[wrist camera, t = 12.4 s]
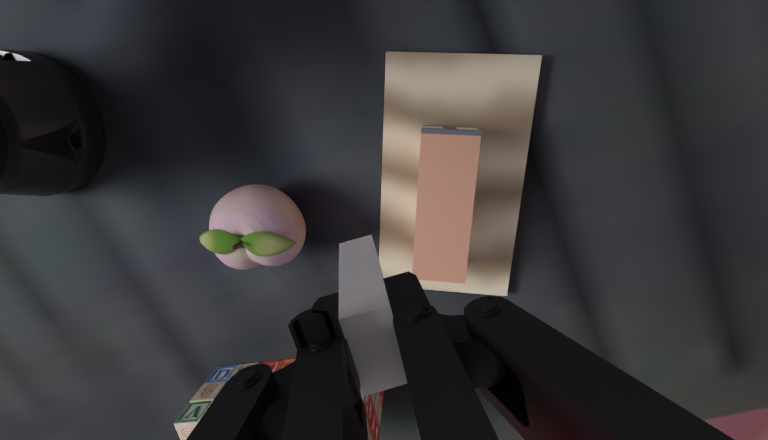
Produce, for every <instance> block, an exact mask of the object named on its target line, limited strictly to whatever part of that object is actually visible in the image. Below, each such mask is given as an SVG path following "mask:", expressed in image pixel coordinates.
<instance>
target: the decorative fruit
mask: <svg viewBox="0 0 768 440" xmlns="http://www.w3.org/2000/svg"><path fill="white" fill-rule="evenodd" d="M305 237H306V225H305V221H304V218H303V216H302V214H301V212H300V210H299V208H298V207H297V206H296V204H295V203H294V202H293V201H292V200H291V199H290V198H289V197H288V196H287V195H286V194H284V193H283V192H281V191H280V190H278V189H276V188H273V187H271V186H267V185H261V184H253V185H246V186H242V187H239V188H236V189H234V190H233V191H231V192H229V193H227V194H226V195H225V196H223V197H222V198H221V199H220V200H219V201H218V202H217V203H216V205H215V206H214V208H213V210H212V212H211V215H210V222H209V230H208V231H206V232H204V233H202V234H201V236H200V237H199V239H200V242H201V243H202V244H203V246H205V247H206V248H207V249H208V250H210V251H212V252H214V253H215V254H216V256H217V257H218V258H219V259H220V260H221V261H222V262H223V263H224V264H226V265H227V266H229V267H232V268H235V269H241V270H245V269H251V268H255V267H256V266H258V265H260V264H262V265H266V266H278V265H283V264H286V263H288V262H290V261H291V260H293V259H294V258H295V257H296V256H297V255H298V254H299V252H300V250H301V249H302V247H303V244H304V241H305Z"/></svg>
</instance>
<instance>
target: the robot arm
mask: <svg viewBox="0 0 768 440" xmlns="http://www.w3.org/2000/svg"><path fill="white" fill-rule="evenodd" d="M103 149H104V135H103V128H102V124H101V120H100V117H99V114H98V111H97V109H96V106H95V104H94V102H93V101H92V99H91V97H90V95H89V94H88V92H87V91H86V89H85V88H84V87H83V85H82V84H81V83H80V82H79V81H78V80H77V79H76V77H75V76H74V75H72V74H71V73H70V72H69V71H68V70H67V69H65V68H64V67H63V66H61V65H60V64H58V63H57V62H55V61H53V60H52V59H49V58H47V57H45V56H42V55H39V54H36V53H31V52H24V51H16V50H6V49H0V194H12V195H29V196H51V195H56V194H60V193H64V192H68V191H72V190H75V189H77V188H80V187H81V186H83V185H84V184H86V183H87V182H88V181H89V180H90V179H91V178H92V177H93V176H94V174H95V173H96V171H97V170H98V168H99V165H100V163H101V160H102V156H103ZM288 327H289V329H290V332H291V335H292V337H293V340H294V343H295V345H296V348H297V355H296V360H295V361H293V362H292V363H290V364H289V365H287V366H285V367H283V368H281V369H279V370H277V371H275V372H272V369H271V367H270V366H269V365H267V364H254V365H250V366H247V367H246V368H243V369H241V370H240V371H239V372H237V373H236V374H234V375H233V376H232V377H231V378H230V379H229V380H228V381H227V382H226V384H225V385H224V386H223V388H222V389H221V391H220V392H219V394H218V395H217V396H216V398H215V399H214V401H213V402H212V404H211V405H210V406H209V408H208V409H207V411H206V412H205V413H204V415H203V416H202V418H201V419H200V421H199V422H198V423H197V425H196V426H195V428H194V429H193V431H192V432H191V433H190V435H189V436H188V438H187V439H186V440H368V431H367V420H366V409H365V406H364V403H363V400H362V397H361V389H362V392H363V395H364V396H367V395H370V394H374V393H377V392H380V391H384V390H387V389H391V388H394V387H397V386H401V385H404V384H407V383H408V387H409V391H410V395H411V400H412V404H413V408H414V412H415V416H416V420H417V424H418V428H419V432H420V436H421V440H499V439H498V437H497V435H496V433H495V431H494V429H493V427H492V425H491V423H490V421H489V419H488V417H487V415H486V412H485V410H484V408H483V406H482V404H481V402H480V400H479V398H478V396H477V394H476V392H475V390H474V388H480V389H481V391H482V393H483V395H484V396H485V397H486V398H487V399H488V400H489V401H490V403H491V404H492V405H493V406H494V407H495V408H496V409H497V410H498V411H499V412H500V413H501V414H502V416H503V417H504V418H505V419H506V420H507V421H508V422H509V423H510V424H511V425H512V426H513V427H514V429H515V430H516V431H517V432H518V433H519V434H520V435H521V436H522V437H523V438H524V439H525V440H734V439H732V438H731V437H729V436H727V435H726V434H724V433H723V432H721V431H719V430H718V429H716V428H714V427H713V426H711V425H709V424H708V423H706V422H705V421H703V420H701V419H700V418H698V417H697V416H695V415H693V414H692V413H690V412H688V411H687V410H685V409H684V408H682V407H680V406H679V405H677V404H676V403H674V402H672V401H671V400H669V399H667V398H666V397H664V396H663V395H661V394H659V393H658V392H656V391H654V390H653V389H651V388H650V387H648V386H646V385H645V384H643V383H642V382H640V381H638V380H637V379H635V378H633V377H632V376H630V375H629V374H627V373H625V372H624V371H622V370H620V369H619V368H617V367H616V366H614V365H612V364H611V363H609V362H607V361H606V360H604V359H603V358H601V357H599V356H598V355H596V354H595V353H593V352H591V351H590V350H588V349H586V348H585V347H583V346H582V345H580V344H578V343H577V342H575V341H573V340H572V339H570V338H569V337H567V336H565V335H564V334H562V333H560V332H559V331H557V330H556V329H554V328H552V327H551V326H549V325H548V324H546V323H544V322H543V321H541V320H539V319H538V318H536V317H535V316H533V315H531V314H530V313H528V312H526V311H525V310H523V309H522V308H520V307H518V306H517V305H515V304H513V303H512V302H510V301H509V300H507V299H504V298H502V297H496V296H487V297H486V296H485V297H481V298H478V299H475V300H473V301H471V302H470V303H468V304H467V306H466V307H465V308H464V315H455V316H448V315H442V314H439V313H437V311H436V309H435V308H434V307H433V306H431V305H430V303H429V301H428V299H427V297H426V295H425V293H424V291H423V288H422V286H421V284H420V282H419V280H418V278H417V276H416V275H415V274H413V273H411V272H409V271H408V272H405V273H401V274H397V275H394V276H390V277H387V278H384V277H383V274H382V270H381V267H380V263H379V259H378V256H377V252H376V249H375V245H374V242H373V238H372V235H368V236H364V237H361V238H357V239H354V240H350V241H347V242H343V243H339V292H338V293H334V294H331V295H327V296H324V297H320V298H318V299H317V301H316V302H315V303H314V305H313V306H312V308H311V309H309V310H306V311H304V312H302V313H300V314H299V315H297V316H296V317H295V318H294V319H293V320H291V322H290V324H289V326H288ZM360 386H361V389H360Z"/></svg>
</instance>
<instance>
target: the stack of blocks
mask: <svg viewBox="0 0 768 440" xmlns="http://www.w3.org/2000/svg"><path fill="white" fill-rule="evenodd" d="M295 360H296V358H295V359H285V360H282V361H281V360H280V361H270V362H262V363H259V362H257V363H248V364H239V365H230V366H223V367H217V368H216V369H215V370H214V372H213V373H212V374H211V375H210V377H209V378H208V379H207V380H206V382H205V383H204V384H203V385H202V386H201V388H200V389H199V390H198V391H197V393H196V394H195V395H194V397H193V398H192V399H191V401H190V403H189V404H188V406H187V407H186V408H185V409H184V411H183V412H182V413H181V415H180V416H179V417H178V419H177V420H176V421H175V423H174V426H175V428H176V430H177V432H178V435H179V437H180V439H181V440H186V439H187V438H188V436H189V435H190V433H191V432H192V431H193V429H194V428H195V426H196V425H197V423H198V422H199V421H200V419H201V418H202V416H203V415H204V413H205V412H206V411H207V409H208V408H209V406H210V405H211V404H212V402H213V401H214V399H215V398H216V396H217V395H218V394H219V392H220V391H221V389H222V388H223V386H224V385H225V384H226V382H227V381H228V380H229V379H230V378H231V377H232V376H233V375H234V374H236V373H237V372H239V371H240V370H241V369H243V368H246V367H247V366H250V365H254V364H267V365H269V366H270V367H271V369H272V372H275V371H277V370H279V369H281V368H283V367H285V366H287V365H289V364H290V363H292V362H293V361H295ZM360 389H361V386H360ZM384 393H385V390H384V391H380V392H377V393H374V394H370V395H367V396H364V395H363V392H362V389H361V397H362V400H363V403H364V406H365V409H366V420H367V431H368V440H379V433H380V422H381V413H382V407H383V400H384Z"/></svg>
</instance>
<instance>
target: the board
mask: <svg viewBox="0 0 768 440" xmlns="http://www.w3.org/2000/svg"><path fill="white" fill-rule="evenodd" d="M541 60H542V55H513V54H472V53H430V52H389V51H386V64H385V94H384V124H383V154H382V184H381V214H380V244H379V263H380V267H381V270H382V274H383V277H384V278H387V277H390V276H394V275H397V274H401V273H405V272H408V271H409V272H411V273H412V270H413V254H414V238H415V222H416V205H417V189H418V173H419V157H420V141H421V128H422V125H432V126H456V127H475V128H477V129H479V130H481V131H482V133H481V142H480V151H479V160H478V170H477V179H476V188H475V197H474V207H473V216H472V225H471V234H470V243H469V253H468V262H467V271H466V280H465V284H464V283H452V282H439V281H427V280H419V282H420V284H421V286H422V288H423V289H427V290H439V291H451V292H463V293H475V294H487V295H499V296H507V292H508V285H509V278H510V271H511V265H512V258H513V251H514V244H515V237H516V230H517V224H518V217H519V210H520V203H521V196H522V189H523V183H524V176H525V169H526V162H527V155H528V148H529V142H530V135H531V128H532V121H533V114H534V107H535V101H536V94H537V87H538V80H539V73H540V66H541Z"/></svg>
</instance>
